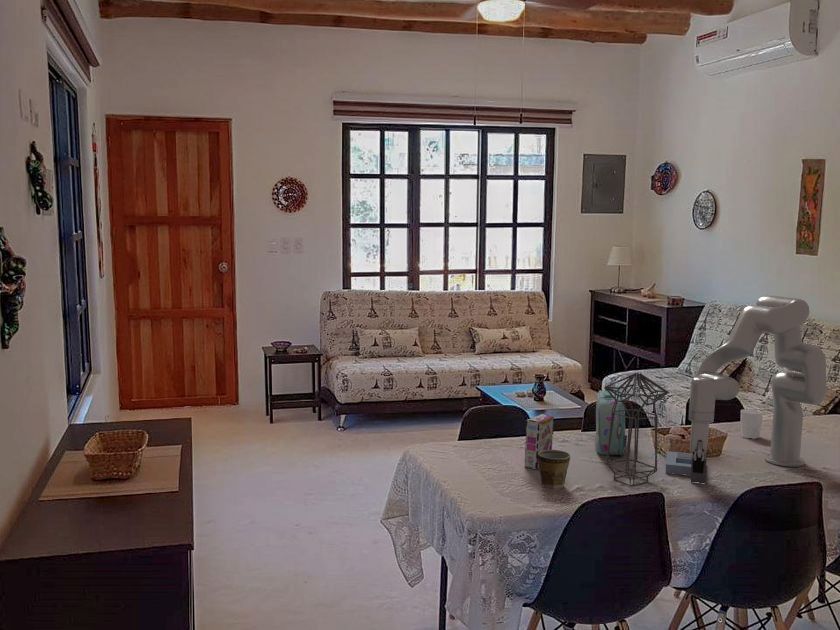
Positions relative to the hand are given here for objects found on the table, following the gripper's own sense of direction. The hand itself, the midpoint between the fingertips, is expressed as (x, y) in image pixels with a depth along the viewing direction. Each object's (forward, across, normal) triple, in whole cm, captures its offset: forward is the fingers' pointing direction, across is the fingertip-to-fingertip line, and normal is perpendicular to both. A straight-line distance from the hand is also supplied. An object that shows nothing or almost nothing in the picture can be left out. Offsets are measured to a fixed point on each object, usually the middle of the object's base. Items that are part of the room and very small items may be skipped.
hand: (697, 468), depth 260 cm
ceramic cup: (+5, +19, -44) cm, 48 cm away
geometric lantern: (+5, +6, -20) cm, 21 cm away
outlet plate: (+4, -13, -4) cm, 14 cm away
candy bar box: (+5, +1, -51) cm, 51 cm away
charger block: (+4, 0, 0) cm, 4 cm away
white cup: (+4, -64, +20) cm, 68 cm away
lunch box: (+5, -27, -30) cm, 41 cm away
